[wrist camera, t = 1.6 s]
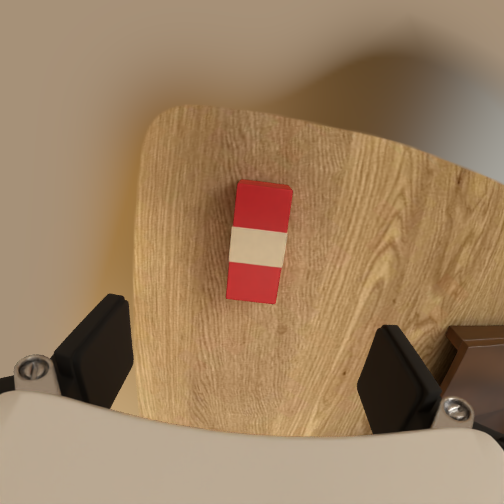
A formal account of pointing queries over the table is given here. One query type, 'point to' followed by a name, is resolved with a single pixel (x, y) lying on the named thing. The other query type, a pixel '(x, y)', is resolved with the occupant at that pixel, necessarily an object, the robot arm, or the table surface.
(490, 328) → the step rack
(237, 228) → the rectangular block
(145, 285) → the table surface
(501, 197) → the table surface
